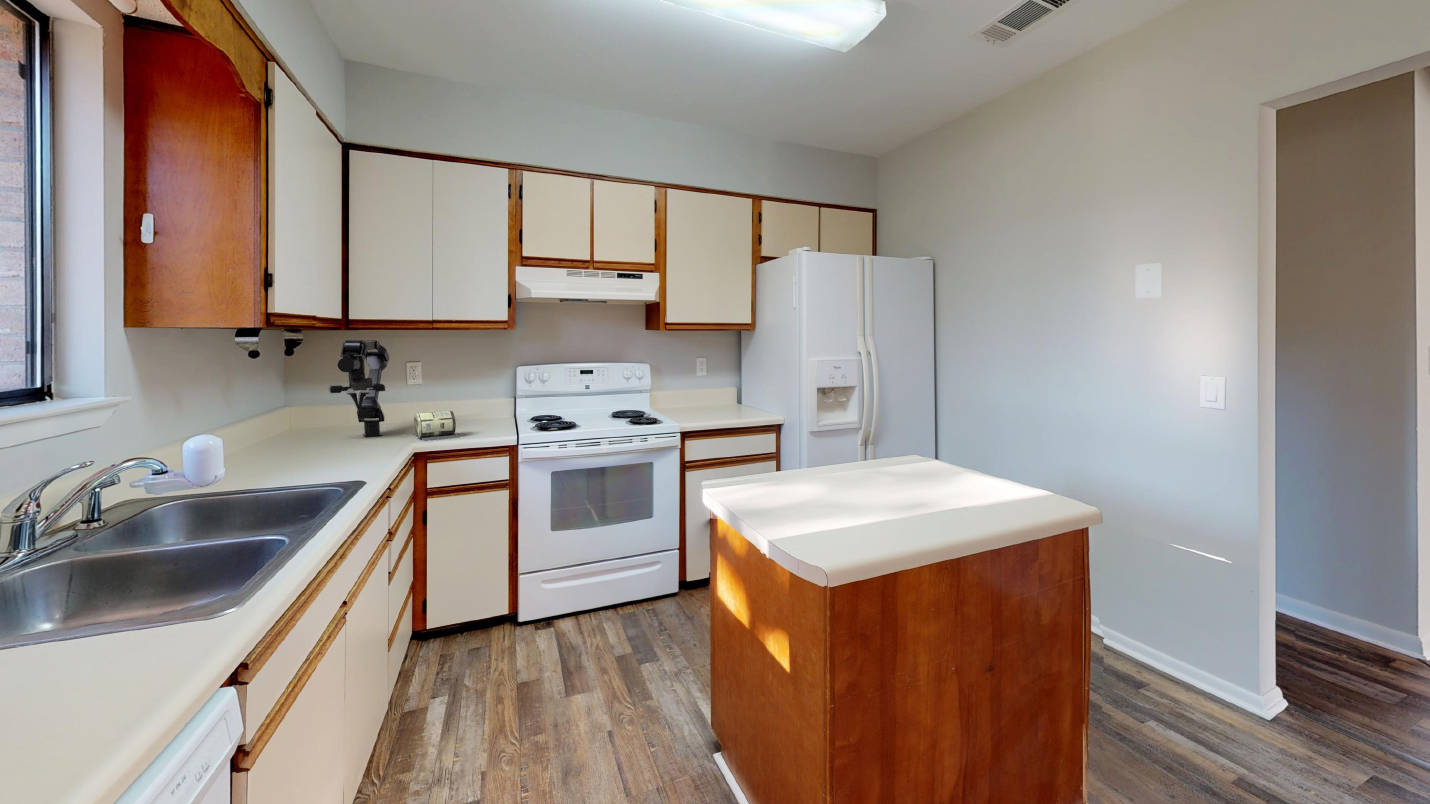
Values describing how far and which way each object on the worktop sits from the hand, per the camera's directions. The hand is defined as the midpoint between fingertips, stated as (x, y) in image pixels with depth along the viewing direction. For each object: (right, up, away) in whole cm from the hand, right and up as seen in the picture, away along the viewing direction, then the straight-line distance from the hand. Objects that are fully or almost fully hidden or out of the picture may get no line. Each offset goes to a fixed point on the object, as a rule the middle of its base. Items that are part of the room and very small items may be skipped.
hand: (358, 409), depth 227 cm
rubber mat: (+24, -12, +16) cm, 31 cm away
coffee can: (+20, -7, +6) cm, 22 cm away
